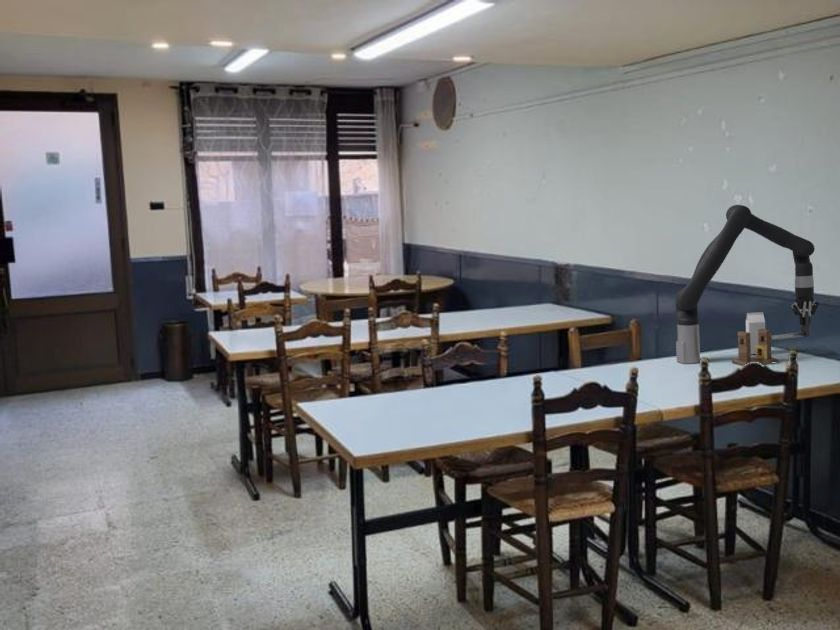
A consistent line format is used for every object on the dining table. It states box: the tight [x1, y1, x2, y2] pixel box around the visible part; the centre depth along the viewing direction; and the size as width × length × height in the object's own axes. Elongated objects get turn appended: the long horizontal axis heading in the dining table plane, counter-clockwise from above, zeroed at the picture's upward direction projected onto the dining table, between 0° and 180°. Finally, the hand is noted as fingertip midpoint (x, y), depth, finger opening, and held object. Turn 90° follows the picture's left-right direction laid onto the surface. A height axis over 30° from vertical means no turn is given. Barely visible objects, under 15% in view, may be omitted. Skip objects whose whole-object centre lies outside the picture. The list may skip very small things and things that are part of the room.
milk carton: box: [745, 311, 766, 354], centre depth 385 cm, size 7×7×19 cm
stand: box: [731, 328, 780, 367], centre depth 365 cm, size 16×10×14 cm, turn 103°
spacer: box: [755, 344, 767, 360], centre depth 366 cm, size 2×6×6 cm, turn 13°
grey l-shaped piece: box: [771, 313, 810, 341], centre depth 367 cm, size 21×3×10 cm, turn 103°
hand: (805, 324), depth 369 cm, fingers closed on grey l-shaped piece
